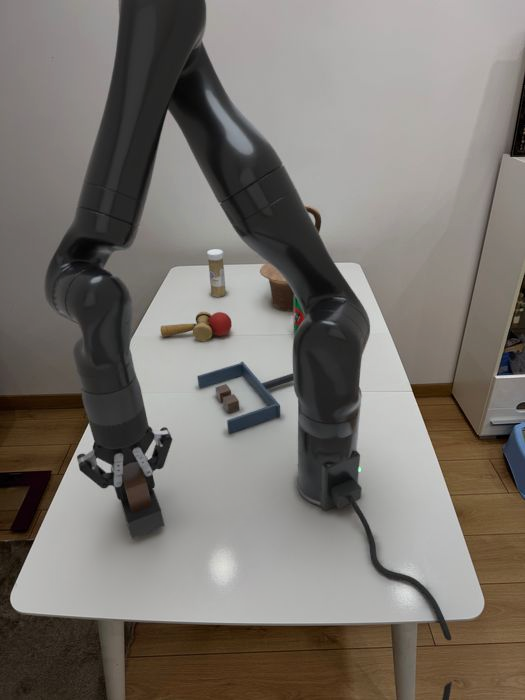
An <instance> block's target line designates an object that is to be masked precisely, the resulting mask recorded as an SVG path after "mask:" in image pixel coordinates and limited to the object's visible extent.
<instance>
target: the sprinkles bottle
mask: <svg viewBox="0 0 525 700" xmlns="http://www.w3.org/2000/svg"><path fill="white" fill-rule="evenodd" d="M206 257H207V260H208V261H207V263H208V272H209V282H210V283H209V284H210V291H211V292H210V295H211V296H212V297H215V298H219V297H221V298H222V297H224V296H225V295H226V293H227V291H226V278H225V277H226V276H225V267H224V251H223V250H222V249H220V248H219V249H218V248H214V249H213V248H212V249H209V250H208V251H207V252H206Z"/></svg>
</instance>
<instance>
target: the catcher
mask: <svg viewBox="0 0 525 700" xmlns="http://www.w3.org/2000/svg"><path fill="white" fill-rule="evenodd" d="M241 376H243V377H244V379H245V380H246V381H247V382H248V384H249V385H250V386H251V387H252V389H254V391H255V392H256V393H257V394H258V396H259V397H260V398H261V399H262V401H263V402H264V404H266V405H267V406H264V407H262V408H259V409H256V410H253V411H250V412H247V413H244V414H241V415H238V416H235V417H233V418H230V419H229V418H228V419H227V420H226V425H227V432H228V434H233V433H236V432H238V431H241V430H244V429H247V428H250V427H253V426H255V425H258V424H261V423H264V422H267V421H270V420H273V419H276V418H277V419H279V418H281V404H280V403H279V402H278V401H277V400H276V399H275V398H274V396H273V395H272V394H271V392H269V390H270V389H273V388H275V387H279V386H282V385H286V384H288V383H291V382H294V380H293V372H292V373H289V374H286V375H282V376H280V377H277V378H273V379H271V380H267V381H264V382H261V381H260V380H259V379H258V378H257V376H256V375H255V374H254V372H252V370H251V369H250V368H249V367H248V366H247V364H245V361H240V362H239V363H236V364H232V365H230V366H225V367H221V368H219V369H216V370H213V371H212V370H211V371H209V372H205V373H202V374H199V375H197V384H198V388H199V389H202V388H206V387H208V386H212V385H215V384H219V383H221V382H224V381H228V380H231V379H234V378H238V377H241Z"/></svg>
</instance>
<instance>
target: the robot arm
mask: <svg viewBox="0 0 525 700" xmlns="http://www.w3.org/2000/svg"><path fill="white" fill-rule="evenodd" d="M117 1H118V27H117V38H116V39H117V40H116V47H115V48H116V49H115V53H114V61H113V68H112V71H111V79H110V82H109V87H108V92H107V97H106V101H105V104H104V108H103V113H102V117H101V119H100V123H99V127H98V130H97V133H96V137H95V140H94V143H93V147H92V150H91V153H90V157H89V160H88V164H87V167H86V171H85V175H84V178H83V181H82V185H81V189H80V191H79V192H80V193H79V196H78V200H77V203H76V208H75V212H74V217H73V220H72V222H71V223H70V225H69V227H68V228H67V230H66V231H65V233H64V234H63V237H62V239H61V241H60V243H59V244H58V246H57V248H56V249H55V251H54V253H53V255H52V257H51V258H50V261H49V263H48V265H47V268H46V271H45V275H44V281H43V293H44V299H45V301H46V303H47V305H48V307H49V308H50V309H51V310H52V311H53V312H54V313H55V314H56V315H57V314H58V315H59V316H61V317H63V318H65V319H67V320H68V321H71V322H72V323H75V324H77V325H78V328H79V329H80V332H81V335H82V336H81V337H79V338H78V339H77V340H76V341H75V343H74V344H73V346H72V352H71V354H72V360H73V365H74V369H75V372H76V377H77V381H78V383H79V386H80V392H81V400H82V404H83V409H84V412H85V414H86V417H87V421H88V424H89V428H90V432H91V434H92V438H93V444H92V450H90V451H89V452H87V453H86V454H85V453H79V454H78V455H77V456H76V459H77V464H78V469H79V471H80V472H81V473H83V475H85V476H86V477H87V478H88V479H89V480H91V481H92V482H93V483H95V484H96V485H97V486H98V487H100V488H101V489H107V488H109V486H112V487H113V488H114V490H115V494H116V497H117V500H119V501H121V500H122V499H123V501H124V502H126V501H128V498H127V494H126V490H125V487H124V483H123V480H122V475H123V466H125V465H127V464H129V463H134V462H138V463H139V465H140V467H141V468H142V471H143V474H144V477H145V479H146V482H147V486H148V490H149V493H151V492H152V490H151V489H153V490H154V489H155V487H156V483H155V479H154V471H155V470H162V469H163V468H164V467H165V464H166V461H167V457H168V454H169V452H170V448H171V446H172V442H173V437H172V434H171V432H170V431H169V429H168V428H167V427H166V426H164V427H161V428H160V430H153V428H152V427H151V426H149V421H148V417H147V412H146V407H145V401H144V398H143V393H142V388H141V383H140V381H139V379H138V376H137V373H136V369H135V365H134V360H133V355H132V351H131V341H132V334H133V333H132V330H133V319H134V318H133V316H134V305H133V299H132V295H131V292H130V290H129V288H128V286H127V284H126V282H125V281H124V280H123V279H122V278H121V277H120V276H119V275H118V274H116V273H114V272H112V271H110V270H107V269H105V267H106V265H107V263H108V261H109V260H110V257H111V256H112V254H114V252H116V251H117V252H118V251H119V252H120V251H126V250H128V249H130V248H132V247H133V245H134V242H135V240H136V239H137V235H138V232H139V227H140V224H141V221H142V218H143V214H144V210H145V207H146V203H147V199H148V196H149V192H150V188H151V183H152V180H153V175H154V171H155V165H156V160H157V157H158V150H159V146H160V141H161V137H162V132H163V129H164V124H165V120H166V118H167V113H168V112H169V113H170V115H171V117H172V119H174V122H176V124H177V126H178V127H179V130H180V131H181V133H182V135H183V136H184V138H185V140H186V141H185V142H187V145H188V147H189V149H190V151H191V152H192V155H193V157H194V159H195V161H196V163H197V165H198V167H199V169H200V170H201V172H202V175H203V176H204V178H205V180H206V182H207V184H208V185H209V187H210V189H211V191H212V193H213V195H214V197H215V199H216V201H217V202H218V204H219V206H220V207H221V209H222V211H223V213H224V214H225V216H226V217H227V220H228V221H229V223H230V225H231V226H232V228H233V230H234V231H235V232H236V234H237V235H238V237H239V239H241V240H242V242H243V243H244V244H245V245H247V246H248V247H249V248H250V250H252V251H253V252H254V253H255V254H257V256H259V257H260V258H262V259H263V260H264V261H265V262H266V263H267V262H268V263H269V264H271V265H272V266H273V267H274V268H275V269H276V270H278V271H279V273H280V274H281V275H282V276H283V277H284V278H285V280H286V281H287V282H288V284H289V286H290V287H291V289H292V291H293V292H294V294H295V296H296V298H297V300H298V302H299V304H300V306H301V308H302V311H303V313H304V316H305V318H304V320H303V321H302V323H301V324H300V326H299V328H298V329H297V331H296V333H295V334H294V336H293V341H292V373H293V380H294V381H293V389H294V395H295V396H296V398H297V480H296V481H297V482H296V485H297V489H298V492H299V493H300V495H301V497H303V499H305V500H306V501H308V502H309V503H310V504H313V505H315V506H318V507H321V508H322V509H323V511H328V510H331V509H333V508H335V507H337V509H341V508H343V507H346V506H348V505H351V507H352V509H353V510H354V511H355V513H356V515H357V516H358V519H359V520H360V522H361V525H362V526H363V528H364V531H365V533H366V537H367V540H368V543H369V550H370V559H371V561H372V563H373V565H374V567H375V568H376V569H377V570H378V571H379V572H380V573H382V575H384V576H386V577H388V578H391V579H395V580H400V581H404V582H407V583H409V584H411V585H413V586H414V587H416V589H417V590H419V591H420V592H421V594H423V595H424V597H425V598H426V599H427V601H428V602H429V604H430V606H431V607H432V610H433V612H434V613H435V616H436V618H437V621H438V623H439V626H440V628H441V631H442V633H443V634H442V635H443V636H444V639H445V640H446V641H451V640H452V635H451V632H450V629H449V627H448V624H447V622H446V619H445V616H444V614H443V612H442V610H441V608H440V605H439V604H438V602H437V601H436V599H435V597H434V596H433V595H432V593H431V592H430V591H429V590H428V588H427V587H425V586H424V585H423V584H422V583H421V582H420V581H419V580H418V579H416V578H414V577H412V576H411V575H407V574H404V573H400V572H396V571H392V570H390V569H387V568H386V567H384V566H383V565H382V564H381V563H380V561H379V559H378V556H377V547H376V542H375V541H376V540H375V537H374V535H373V532H372V529H371V527H370V524H369V522H368V520H367V518H366V517H365V514H364V513H363V511H362V509H361V508H360V506H359V505H358V503H357V501H359V500H361V496H362V495H361V494H362V486H361V485H360V484H359V483H358V482H359V474H360V472H361V467H360V461H361V454H360V452H359V451H358V440H359V428H360V419H361V407H362V397H363V395H362V389H361V388H360V381H361V369H362V359H363V354H364V352H365V349H366V347H367V344H368V341H369V338H370V335H371V324H370V323H371V321H370V317H369V315H368V312H367V310H366V309H365V307H364V304H363V303H362V302H361V300H360V298H359V297H358V296H357V295H356V293H355V292H354V290H353V289H352V287H351V286H350V284H349V283H348V281H347V280H346V278H345V276H344V275H343V274H342V272H341V271H340V270H339V268H338V266H337V264H336V263H335V262H334V260H333V258H332V256H331V254H329V251H328V249H327V247H326V245H325V243H324V241H323V239H322V237H321V235H320V232H319V233H318V231H317V229H316V227H315V222H314V221H313V220H312V218H311V216H310V213H309V212H307V210H306V208H305V206H304V205H305V204H304V202H303V200H302V198H301V196H300V193H299V190H297V188H296V186H295V184H294V181H293V180H292V177H291V176H290V173H289V172H288V170H287V168H286V166H285V164H284V163H283V161H282V159H281V158H280V156H279V154H278V153H277V151H276V150H275V148H274V147H273V146H272V144H271V143H270V142H269V140H268V139H267V138H266V137H265V136H264V134H263V133H262V132H261V131H260V130H259V128H257V126H256V125H255V124H254V123H253V122H252V121H251V120H250V119H249V118H248V117H247V116H246V115H245V114H244V113H243V112H242V111H241V109H240V108H239V107H238V106H237V104H235V102H234V101H233V100H232V98H231V97H230V95H229V93H228V92H227V90H226V88H225V87H224V85H223V83H222V81H221V79H220V77H219V75H218V72H217V71H216V68H215V66H214V63H212V59H211V58H210V55H209V53H208V51H207V48H206V46H205V43H204V40H203V39H204V37H205V33H206V27H207V21H208V7H207V0H117ZM153 441H154V443H155V444H154V447H153V451H152V455H151V457H150V458H148V457H147V452H148V450H149V449H150V446H151V445H152V443H153ZM97 460H100V461H103V462H104V463H106V464H109V466H110V472H107V471H105V470H104V469H103V468H102V467H100V466H99V465H98V461H97ZM452 683H453V682H452V681H450V682H448V683H447V684H445V685H444V687H443V694H442V698H441V700H450V696H451V690H452Z"/></svg>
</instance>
